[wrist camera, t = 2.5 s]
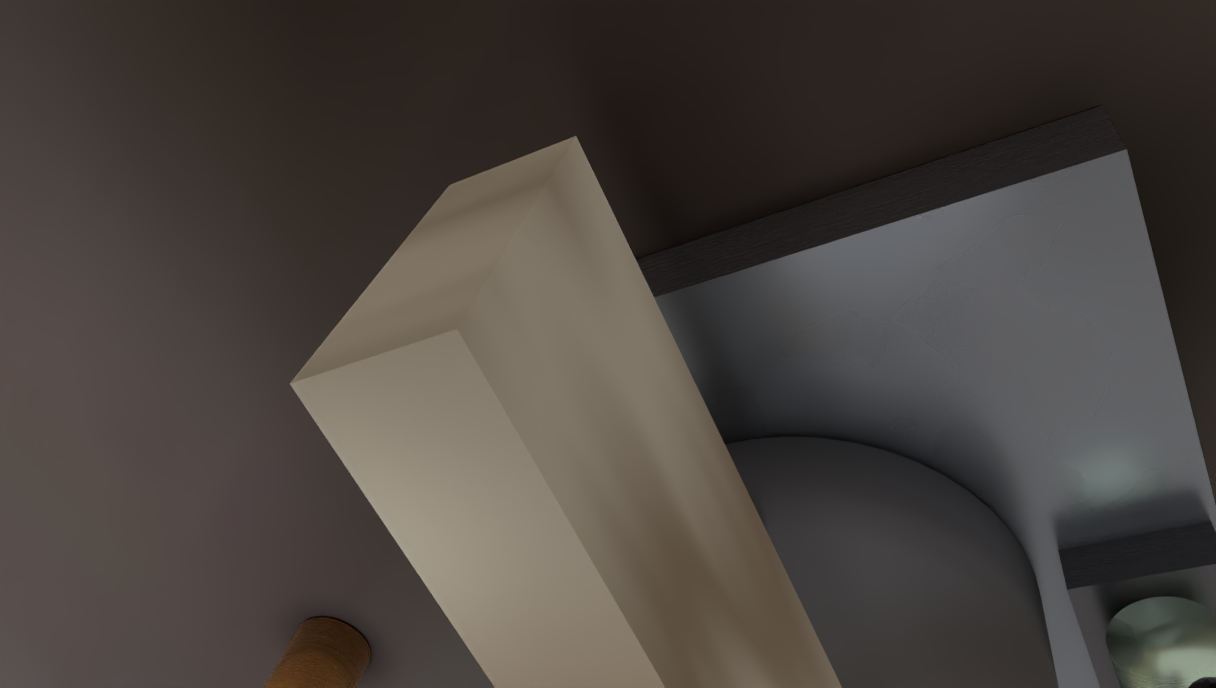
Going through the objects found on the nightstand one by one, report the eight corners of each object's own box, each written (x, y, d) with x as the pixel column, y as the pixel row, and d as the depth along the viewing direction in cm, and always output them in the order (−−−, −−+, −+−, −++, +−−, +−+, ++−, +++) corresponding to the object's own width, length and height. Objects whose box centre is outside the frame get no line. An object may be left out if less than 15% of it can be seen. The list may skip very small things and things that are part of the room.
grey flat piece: (1262, 736, 18) (1343, 948, 15) (441, 832, 25) (382, 996, 22) (1101, 105, 14) (1172, 232, 10) (130, 427, 20) (-3, 564, 17)
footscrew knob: (1092, 735, 17) (1186, 1174, 12) (687, 785, 20) (628, 1163, 15) (828, -11, 12) (805, 215, 7) (331, 191, 15) (55, 460, 10)
